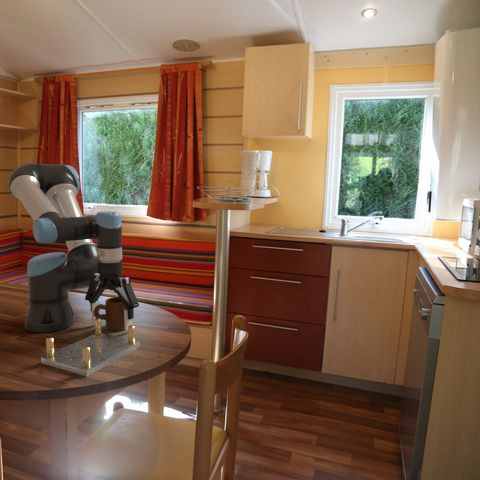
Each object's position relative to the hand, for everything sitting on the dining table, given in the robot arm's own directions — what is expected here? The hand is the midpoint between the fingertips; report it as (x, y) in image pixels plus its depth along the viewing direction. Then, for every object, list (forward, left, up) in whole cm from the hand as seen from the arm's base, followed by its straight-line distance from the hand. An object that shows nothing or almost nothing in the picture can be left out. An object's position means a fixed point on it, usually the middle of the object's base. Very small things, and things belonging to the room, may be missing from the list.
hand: (112, 325), depth 128 cm
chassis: (+9, -17, -1) cm, 19 cm away
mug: (0, 0, -2) cm, 2 cm away
